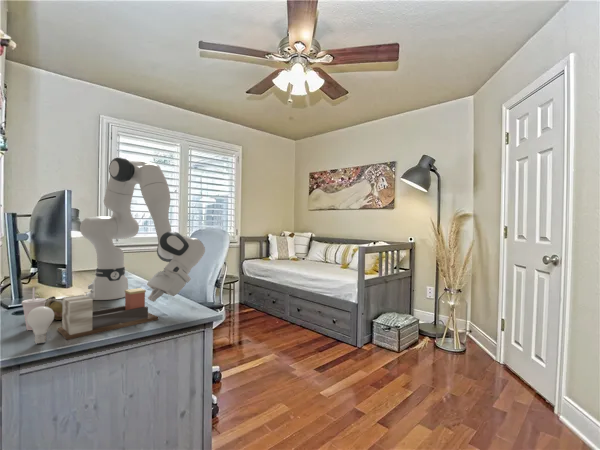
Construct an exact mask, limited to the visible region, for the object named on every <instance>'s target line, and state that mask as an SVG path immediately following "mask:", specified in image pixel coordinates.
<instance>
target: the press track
mask: <svg viewBox="0 0 600 450" xmlns="http://www.w3.org/2000/svg"><path fill="white" fill-rule="evenodd" d="M62 299H63V305H62V319H61V320H62V321H61V322H62V324H61V325H62V326H59V327H57V332H59V333H60V334H61V336H62V337H63V338H64V339H65V340H66V341H68V340H73V339H76V338H81V337H86V336H89V335H94V334H99V333H104V332H108V331H114V330H118V329H123V328H126V327H132V326H136V325H141V324H145V323H149V322H153V321H158V320H159V316H158V315H155V314H152V313H151V312H149V307H148V306H146V305H145V307H140V308H135V309H129V310H125V305H120V306H114V307H109V308H108V307H107V308H103V309H97V310H96V309H95V310H94V309H93V302H94V300H92V299H91V298H89V297H87V296H86V294H80V295H73V296H64V297H62Z"/></svg>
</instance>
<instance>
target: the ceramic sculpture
mask: <svg viewBox="0 0 600 450" xmlns="http://www.w3.org/2000/svg"><path fill="white" fill-rule="evenodd" d="M45 299H46V302H45V306H46V307H49V308H51V309H52V310H53V312H54V319H53V320H56V321H57V320H58V321H60V320H62V305H63V298H62V299H61V298H56V296H50V297H47V298H45Z"/></svg>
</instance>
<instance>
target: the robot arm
mask: <svg viewBox="0 0 600 450" xmlns="http://www.w3.org/2000/svg"><path fill="white" fill-rule="evenodd" d="M108 171H109V175H110V176H109V180H108V182H107V186H106V189H105V194H104V197H103V198H104V199H103V203H104V207H106V209H108V210H110V211H111V212H112V215H111V216H104V215H103V216H99V215H96V216H90V217H85V218H84V219H82V221H81V222H80V226H79V231H80V233H81V235H82V237H84V238H85V239H86V240H88V241H89V242H90V243H91V244H92V246H93V247H94V249H95V252H96V263H97V264H96V266H97V267H96V269H95V277H94V278H93V280H92V281H91V283H89V284H88V285H87V289H88V290H90V291H88V292H85V296H87V297H89V298H91V299H92V300H93V301H107V300H108V301H109V300H117V299H122V298H125V290H129V279H128V277H126V276H125V274H126V269H125V266H124V265H125V253H124V250H122V248H120V247H118V246H115V244H114V242H113V240H123V239H129V238H134V237H136V236H137V234H138V233H139V228H140V227H139V223H138V221H137V220H136V219H135V218H134V217H133V215H132V212H131V206H132V200H133V197H134V196H133V195H134V192H135V187H136V185H137V184H138V185H139V188H140V192H141V195H142V198H143V200H144V203H145V205H146V207H147V209H148V211H149V214H150V216H151V219H152V222H153V225H154V229H155V232H156V236H157V241H158V244H157V247H156V254H157V256H158V258H159V259H160V260H161V261H163V262H166V263H167V264H166V265H165V267H163V270H161V271H160V270H159V271H158V272H157V273H155V274H154V275H153V276H152V278H150V279H149V280H148V281H147V283H146V285H147V287H149V288H150V289H151V290H152V291H151V293H150V295H148V297H147V298H148V300H149V301H151V302H156V300H157V299H159V298H160V297H162V296H163V295H164V294H165V295H168V296H172V297H174V296H177V295H178V294H179V293H180V292H181V290H183V288H184V287H185V286H186V284H187V283H189V282H190V281H191V280H192V279H191V277H190V276H189V274H190V272H191V270H192V269H193V268H194V267H195V266H196V265H197V264H198V263H199V262H200V260H201V259H202V258H203V256H204V255H205V252H206V247H205V244H203V242H202V241H201V240H200V239H198V238H197V237H188V236H184V235H183V234H180V233H178V232H177V231H173V230H172V227H171V224H170V215H169V211H170V205H171V194H170V193H171V191H170V187H169V184H168V181H167V179H166V176H165V174H164V172H163V170H162V169H161V166H159V164H157V163H156V162H152V161H147V160H143V159H139V158H138V159H137V158H129V157H128V158H126V157H124V156H123V157H122V156H121V157H115V158H113V159H112V160H111V161H110V163H109V167H108Z"/></svg>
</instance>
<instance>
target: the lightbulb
mask: <svg viewBox="0 0 600 450" xmlns="http://www.w3.org/2000/svg"><path fill="white" fill-rule="evenodd" d="M54 320H55V319H54V312H53V310H52V309H51V308H49V307H46V306H40V307H36V308H34V309H33V310H31V311H30V312H29V314H28V315H27V323H28V325H29V326H30V327H31V328H32V329H33V330H32V333H33V334H34V343H35V344H36V345H37V344H38V345H42V344H44V343H45V342H47V332H48V330H49V327H50V325H51V324H52V323H53V322H54Z"/></svg>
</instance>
